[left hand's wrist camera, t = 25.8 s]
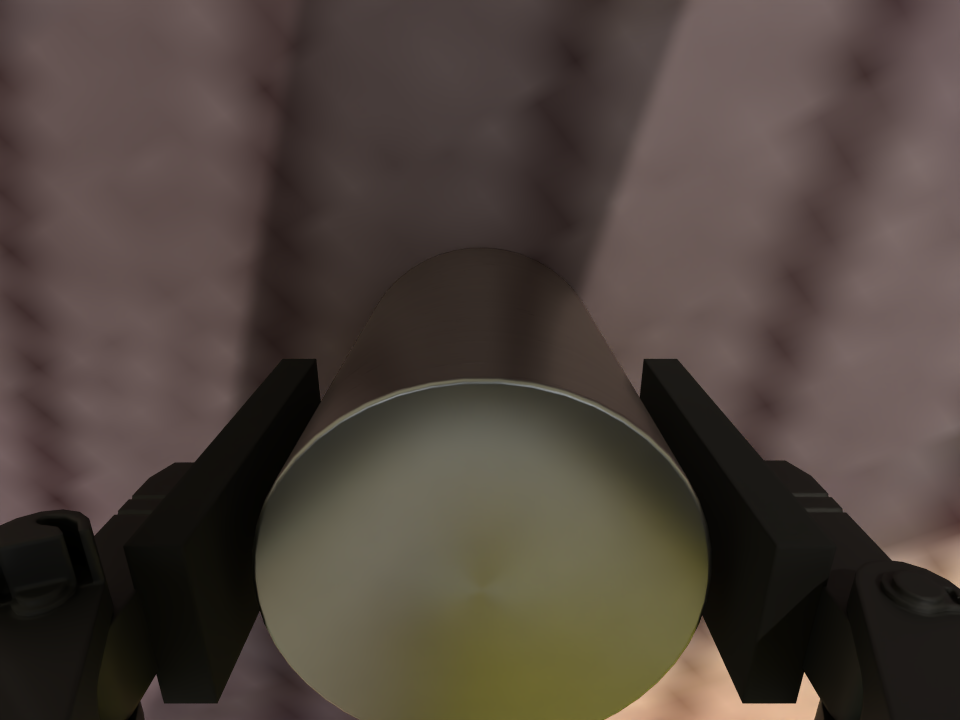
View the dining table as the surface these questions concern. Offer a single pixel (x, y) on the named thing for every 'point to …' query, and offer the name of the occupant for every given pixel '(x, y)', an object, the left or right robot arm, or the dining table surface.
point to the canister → (481, 512)
